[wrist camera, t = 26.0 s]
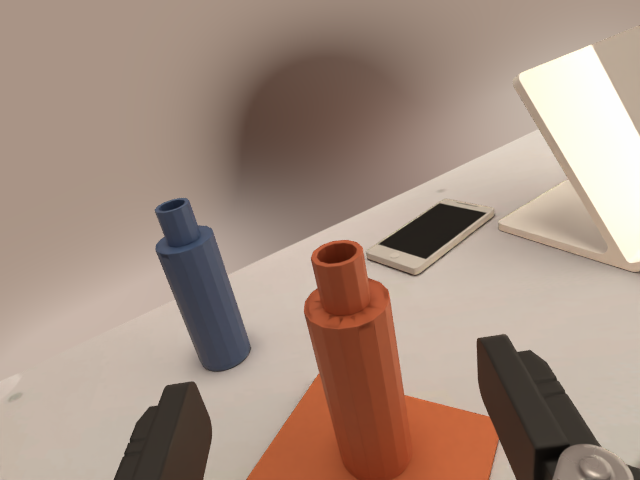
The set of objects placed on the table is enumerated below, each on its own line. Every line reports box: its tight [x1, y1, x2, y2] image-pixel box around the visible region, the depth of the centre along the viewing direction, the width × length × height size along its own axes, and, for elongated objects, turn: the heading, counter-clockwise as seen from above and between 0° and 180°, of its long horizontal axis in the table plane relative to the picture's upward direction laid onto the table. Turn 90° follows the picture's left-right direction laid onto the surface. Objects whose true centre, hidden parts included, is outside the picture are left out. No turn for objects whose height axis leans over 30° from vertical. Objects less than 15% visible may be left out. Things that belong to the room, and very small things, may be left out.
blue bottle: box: [155, 198, 250, 371], centre depth 40 cm, size 5×5×15 cm
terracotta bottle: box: [304, 240, 412, 480], centre depth 27 cm, size 5×5×15 cm
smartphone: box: [366, 199, 495, 275], centre depth 55 cm, size 7×16×1 cm, turn 132°
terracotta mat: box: [246, 374, 499, 480], centre depth 31 cm, size 10×14×1 cm
